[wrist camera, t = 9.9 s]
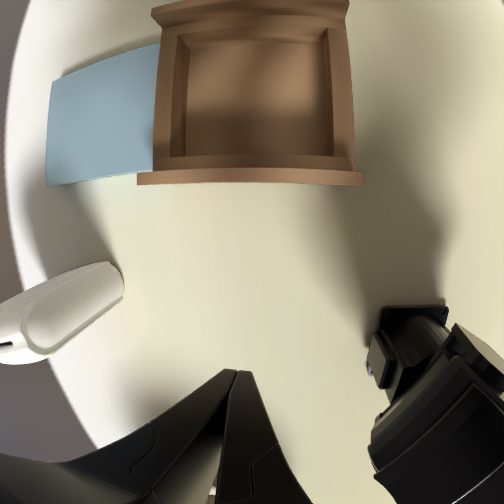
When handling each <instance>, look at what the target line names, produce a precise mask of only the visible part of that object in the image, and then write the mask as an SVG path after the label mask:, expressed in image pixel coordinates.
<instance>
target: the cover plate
mask: <svg viewBox="0 0 504 504" xmlns="http://www.w3.org/2000/svg"><path fill="white" fill-rule="evenodd" d="M160 43H161V42H159V43H155V44H151V45H148V46H144V47H141V48H137V49H134V50H131V51H127V52H124V53H121V54H118V55H115V56H113V57H110V58H107V59H104V60H102V61H99V62H96V63H94V64H91V65H89V66H86V67H84V68H82V69H79V70H77V71H75V72H72V73H70V74H68V75H66V76H64V77H62V78H60V79H58V80H56V81H54V82H52V87H51V94H50V102H49V112H48V123H47V140H46V187H50V186H61V185H66V184H71V183H77V182H82V181H88V180H94V179H100V178H106V177H112V176H119V175H126V174H134V173H141V172H150V171H153V126H154V106H155V92H156V80H157V69H158V60H159V51H160Z"/></svg>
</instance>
